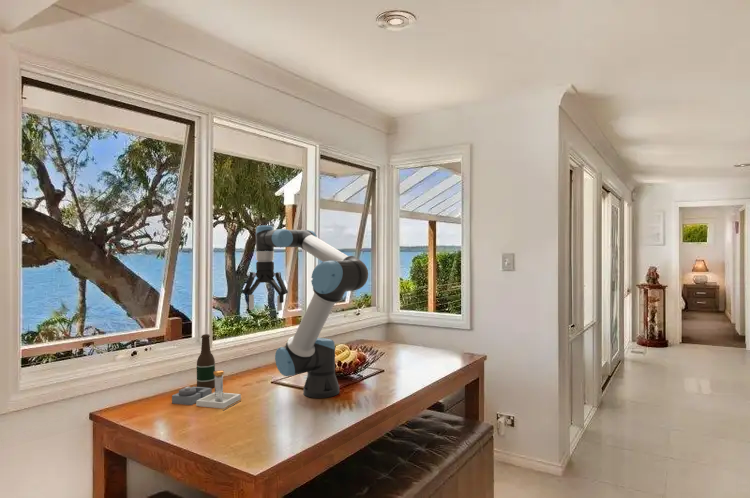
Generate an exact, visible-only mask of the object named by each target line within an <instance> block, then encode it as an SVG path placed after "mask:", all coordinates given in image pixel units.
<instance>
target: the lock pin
mask: <svg viewBox="0 0 750 498" xmlns="http://www.w3.org/2000/svg"><path fill="white" fill-rule="evenodd" d="M224 374H225V372H224V370H222V369H221V370H215V371H214V375H215V387H214V392H215V402H223V393H224Z"/></svg>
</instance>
